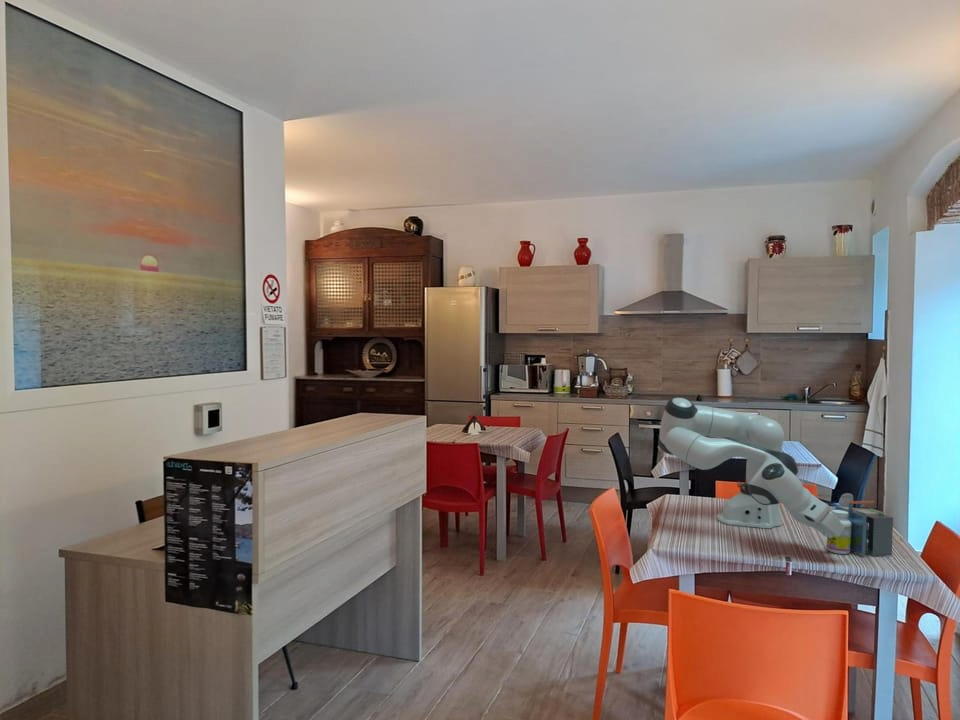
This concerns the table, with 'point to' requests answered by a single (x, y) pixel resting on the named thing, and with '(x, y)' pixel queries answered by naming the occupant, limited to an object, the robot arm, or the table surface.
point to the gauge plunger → (857, 527)
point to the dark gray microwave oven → (878, 532)
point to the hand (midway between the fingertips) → (829, 535)
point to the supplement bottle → (844, 540)
